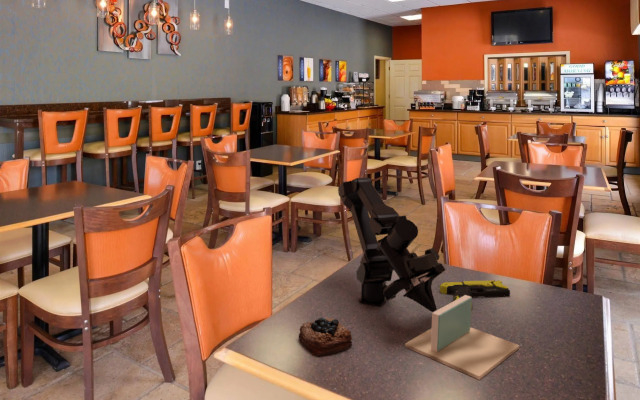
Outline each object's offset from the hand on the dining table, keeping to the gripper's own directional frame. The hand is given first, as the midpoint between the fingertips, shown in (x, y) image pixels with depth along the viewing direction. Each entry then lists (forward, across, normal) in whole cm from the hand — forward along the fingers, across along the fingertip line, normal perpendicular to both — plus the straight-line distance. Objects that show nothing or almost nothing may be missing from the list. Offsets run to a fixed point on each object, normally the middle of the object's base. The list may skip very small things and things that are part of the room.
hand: (434, 311), depth 120 cm
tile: (+7, 0, +1) cm, 7 cm away
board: (+10, 0, -1) cm, 10 cm away
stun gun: (+2, +28, +8) cm, 29 cm away
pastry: (-7, -21, +17) cm, 28 cm away
